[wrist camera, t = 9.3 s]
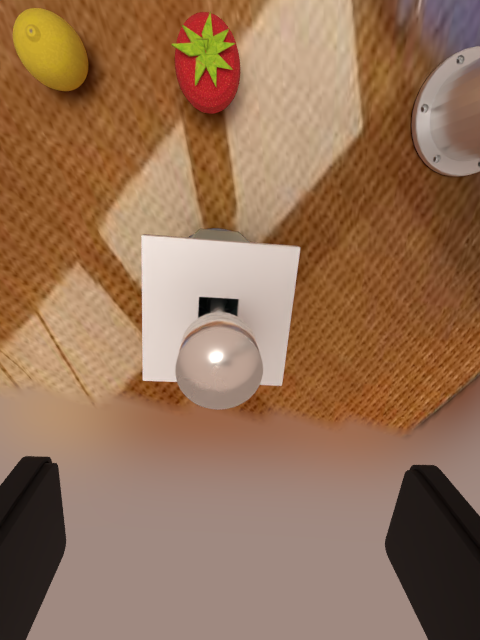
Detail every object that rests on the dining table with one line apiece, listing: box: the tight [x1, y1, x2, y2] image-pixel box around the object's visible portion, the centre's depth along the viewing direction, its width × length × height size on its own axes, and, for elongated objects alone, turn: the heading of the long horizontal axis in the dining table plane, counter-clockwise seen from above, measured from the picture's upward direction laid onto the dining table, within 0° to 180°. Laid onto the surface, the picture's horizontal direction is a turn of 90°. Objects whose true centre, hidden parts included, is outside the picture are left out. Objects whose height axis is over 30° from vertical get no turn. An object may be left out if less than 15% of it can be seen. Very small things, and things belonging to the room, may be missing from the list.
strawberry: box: [172, 12, 240, 114], centre depth 31 cm, size 6×8×10 cm
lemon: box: [13, 8, 88, 91], centre depth 30 cm, size 6×6×8 cm
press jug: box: [142, 228, 300, 386], centre depth 34 cm, size 14×11×17 cm
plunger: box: [175, 297, 263, 409], centre depth 28 cm, size 8×8×24 cm
